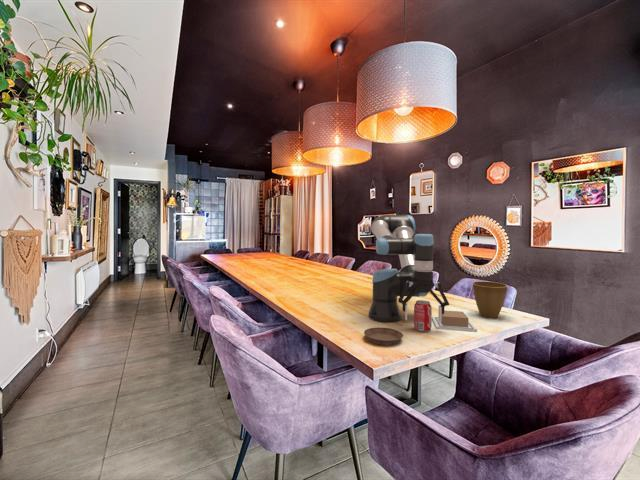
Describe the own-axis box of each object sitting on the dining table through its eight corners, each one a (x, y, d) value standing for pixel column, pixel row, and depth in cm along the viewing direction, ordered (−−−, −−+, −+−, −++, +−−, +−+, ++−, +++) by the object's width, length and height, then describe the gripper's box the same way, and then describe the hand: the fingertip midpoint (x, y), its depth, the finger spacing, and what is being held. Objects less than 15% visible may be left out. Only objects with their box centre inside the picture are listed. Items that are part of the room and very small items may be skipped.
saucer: (375, 330, 125) (375, 324, 125) (409, 339, 115) (409, 332, 115) (356, 340, 114) (356, 333, 113) (392, 351, 104) (392, 343, 104)
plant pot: (468, 311, 154) (468, 280, 154) (499, 312, 151) (500, 281, 151) (477, 319, 140) (477, 286, 139) (511, 321, 137) (512, 287, 136)
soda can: (428, 327, 128) (429, 300, 128) (433, 333, 121) (433, 304, 121) (412, 326, 129) (412, 299, 129) (415, 332, 122) (416, 303, 122)
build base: (436, 328, 127) (436, 317, 127) (431, 319, 140) (432, 308, 140) (477, 331, 123) (477, 319, 123) (468, 321, 137) (468, 310, 137)
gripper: (393, 270, 124) (392, 320, 124) (457, 272, 118) (456, 325, 118) (392, 268, 131) (392, 316, 131) (453, 270, 125) (452, 320, 126)
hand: (422, 320), depth 125 cm, fingers open, 13 cm apart
